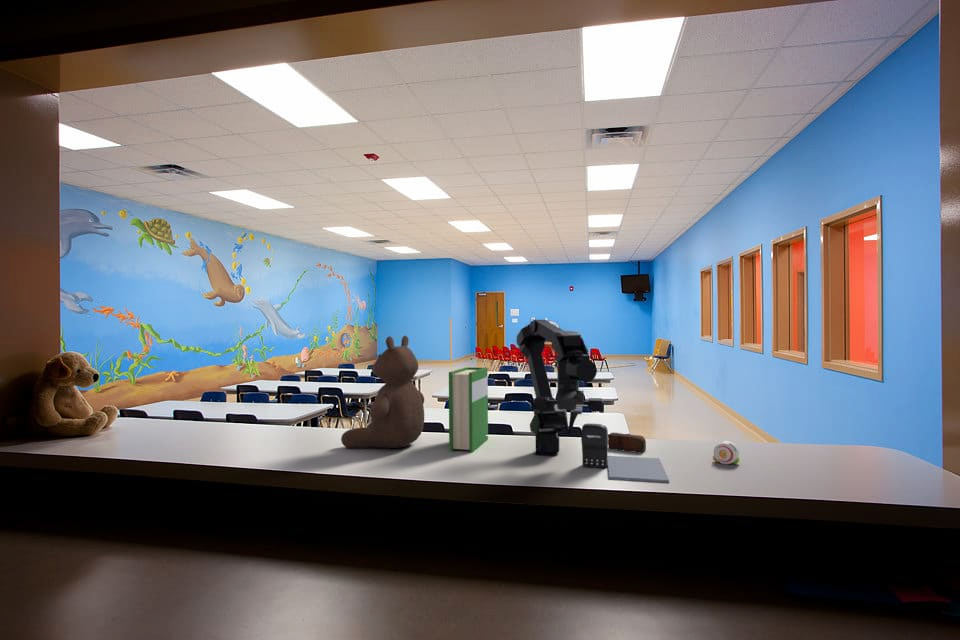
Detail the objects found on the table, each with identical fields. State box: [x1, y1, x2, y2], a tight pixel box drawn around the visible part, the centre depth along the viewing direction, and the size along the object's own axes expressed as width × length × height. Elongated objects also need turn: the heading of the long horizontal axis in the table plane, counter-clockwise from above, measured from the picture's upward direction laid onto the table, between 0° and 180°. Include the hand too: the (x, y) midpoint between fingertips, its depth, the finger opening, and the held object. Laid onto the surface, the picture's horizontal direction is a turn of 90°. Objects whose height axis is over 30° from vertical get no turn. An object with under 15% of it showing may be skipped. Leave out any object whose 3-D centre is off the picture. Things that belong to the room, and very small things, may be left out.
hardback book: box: [448, 366, 489, 454], centre depth 159 cm, size 18×7×24 cm, turn 164°
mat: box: [607, 455, 670, 483], centre depth 131 cm, size 14×20×1 cm
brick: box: [608, 432, 647, 453], centre depth 151 cm, size 11×4×5 cm, turn 62°
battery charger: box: [580, 422, 609, 469], centre depth 134 cm, size 7×4×11 cm, turn 72°
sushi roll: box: [712, 440, 740, 465], centre depth 136 cm, size 4×6×6 cm
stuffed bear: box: [340, 335, 425, 449], centre depth 160 cm, size 29×23×35 cm
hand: (568, 435), depth 135 cm, fingers closed
